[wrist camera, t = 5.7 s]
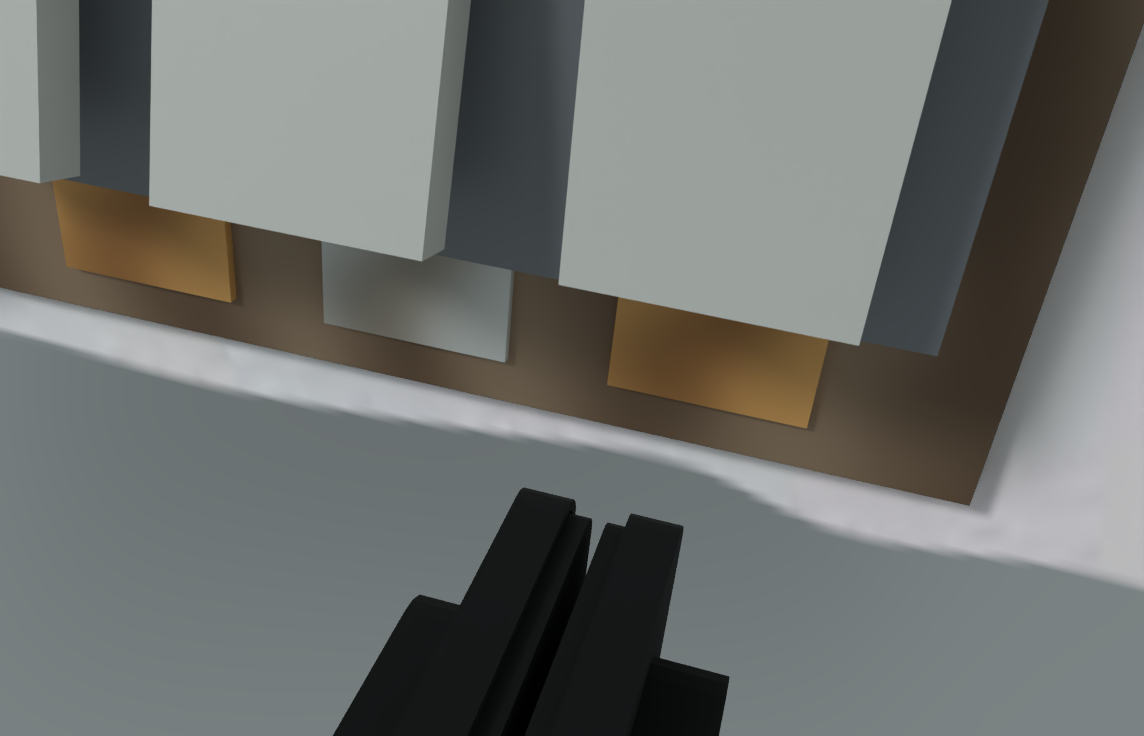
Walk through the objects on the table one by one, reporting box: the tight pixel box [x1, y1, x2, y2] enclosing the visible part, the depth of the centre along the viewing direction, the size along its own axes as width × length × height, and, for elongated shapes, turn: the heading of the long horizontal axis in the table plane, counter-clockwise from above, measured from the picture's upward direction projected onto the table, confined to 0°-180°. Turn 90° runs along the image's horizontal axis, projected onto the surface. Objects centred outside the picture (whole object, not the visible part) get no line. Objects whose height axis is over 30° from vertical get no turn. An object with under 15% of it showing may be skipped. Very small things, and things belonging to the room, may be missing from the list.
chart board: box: [0, 0, 1144, 506], centre depth 25 cm, size 30×20×1 cm, turn 84°
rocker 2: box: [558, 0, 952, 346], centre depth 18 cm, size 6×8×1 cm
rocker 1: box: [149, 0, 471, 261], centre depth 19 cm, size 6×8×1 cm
